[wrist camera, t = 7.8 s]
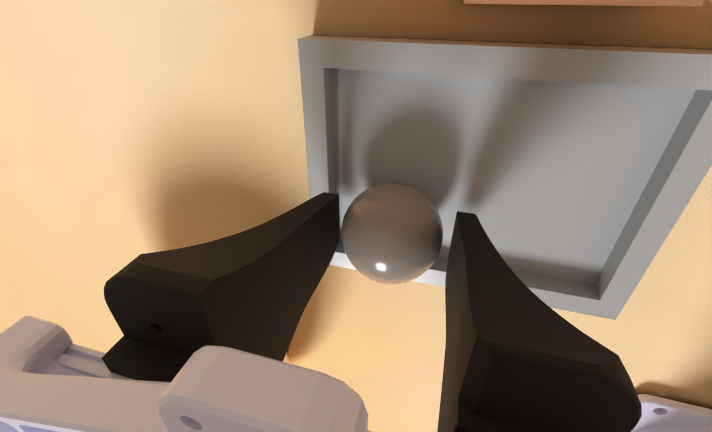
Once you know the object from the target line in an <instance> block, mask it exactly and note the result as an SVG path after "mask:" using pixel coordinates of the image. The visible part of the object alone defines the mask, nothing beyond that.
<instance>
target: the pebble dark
mask: <svg viewBox="0 0 712 432" xmlns="http://www.w3.org/2000/svg"><path fill="white" fill-rule="evenodd" d="M341 238H342V244H343V248H344V251H345V254H346V256H347V257H348V259H349V261H350V262H351V264H352V265H353V266H354V267H355V268H356V269H357V270H358V271H359V272H360V273H361V274H363V275H364V276H365V277H367V278H369V279H371V280H373V281H376V282H379V283H384V284H401V283H406V282H409V281H411V280H414V279H416V278H418V277H419V276H421V275H422V274H424V273H425V272H426V271H427V270H428V269H429V268H430V267H431V266H432V265H433V263H434V262H435V261H436V259H437V257H438V255H439V253H440V250H441V246H442V242H443V225H442V221H441V217H440V215H439V212H438V210H437V209H436V207H435V205H434V204H433V202H432V201H431V200H430V199H429V198H428V197H427V196H426V195H425V194H424V193H422V192H421V191H419V190H418V189H416V188H414V187H412V186H409V185H406V184H401V183H382V184H378V185H375V186H372V187H370V188H368V189H366V190H365V191H363V192H362V193H360V194H359V195H358V196H357V197H356V198H355V199H354V200H353V201H352V203H351V204H350V205H349V207H348V209H347V211H346V213H345V215H344V218H343V222H342V227H341Z"/></svg>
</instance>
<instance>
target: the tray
mask: <svg viewBox="0 0 712 432" xmlns="http://www.w3.org/2000/svg"><path fill="white" fill-rule="evenodd" d="M298 47H299V60H300V73H301V86H302V99H303V112H304V125H305V138H306V151H307V164H308V177H309V190H310V199H311V198H313V197H315V196H317V195H319V194H321V193H323V192H327V193H334V194H339V215H340V240H339V242H338V245H337V248H336V251H335V253H334V256H333V258H332V260H331V262H330V264H329V265H333V266H339V267H344V268H349V269H354V270H357V269H356V268H355V267H354V266H353V265H352V264H351V262H350V261H349V259H348V257H347V256H346V254H345V251H344V248H343V244H342V238H341V227H342V222H343V218H344V215H345V213H346V211H347V209H348V207H349V205H350V204H351V203H352V201H353V200H354V199H355V198H356V197H357V196H358V195H359V194H360V193H362V192H363V191H365V190H366V189H368V188H370V187H372V186H375V185H378V184H382V183H401V184H406V185H409V186H412V187H414V188H416V189H418V190H419V191H421V192H422V193H424V194H425V195H426V196H427V197H428V198H429V199H430V200H431V201H432V202H433V204H434V205H435V207H436V209H437V210H438V212H439V215H440V217H441V221H442V225H443V242H442V246H441V250H440V253H439V255H438V257H437V259H436V261H435V262H434V263H433V265H432V266H431V267H430V268H429V269H428V270H427V271H426V272H425V273H424V274H422V275H421V276H419V277H418V278H416V279H414V280H411V281H416V282H421V283H427V284H432V285H437V286H442V287H445V279H446V270H447V261H448V254H449V249H450V244H451V239H452V234H453V229H454V224H455V219H456V214H457V211H459V212H466V213H473V214H476V216H477V217H478V219H479V221H480V223H481V225H482V227H483V228H484V230H485V232H486V234H487V236H488V237H489V239H490V240H491V242H492V244H493V245H494V247H495V248H496V250H497V251H498V253H499V254H500V255H501V257H502V258H503V260H504V261H505V262H506V264H507V265H508V266H509V267H510V269H511V270H512V271H513V272H514V273H515V274H516V276H517V277H518V278H519V279H520V280H521V281H522V282H523V283H524V284H525V285H526V286H527V287H528V288H529V289H530V290H531V291H532V292H533V293H534V294H535V295H536V296H537V297H539V298H540V299H541V300H542V301H543V302H544V303H545V304H546V305H548V306H549V307H551V308H556V309H561V310H567V311H572V312H577V313H582V314H587V315H593V316H598V317H603V318H608V319H613V320H616V318H617V317H618V315H619V313H620V312H621V310H622V308H623V307H624V305H625V304H626V302H627V300H628V299H629V297H630V296H631V294H632V292H633V291H634V289H635V288H636V286H637V284H638V283H639V281H640V279H641V278H642V276H643V275H644V273H645V271H646V270H647V268H648V267H649V265H650V263H651V262H652V260H653V259H654V257H655V255H656V254H657V252H658V251H659V249H660V247H661V246H662V244H663V242H664V241H665V239H666V238H667V236H668V234H669V233H670V231H671V230H672V228H673V226H674V225H675V223H676V222H677V220H678V218H679V217H680V215H681V213H682V212H683V210H684V209H685V207H686V205H687V204H688V202H689V201H690V199H691V197H692V196H693V194H694V193H695V191H696V189H697V188H698V186H699V184H700V183H701V181H702V180H703V178H704V176H705V175H706V173H707V172H708V170H709V168H710V167H711V165H712V49H689V48H660V47H632V46H604V45H576V44H548V43H519V42H491V41H463V40H435V39H407V38H379V37H350V36H322V35H311V36H307V37H303V38H299V39H298Z"/></svg>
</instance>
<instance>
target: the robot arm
mask: <svg viewBox="0 0 712 432" xmlns="http://www.w3.org/2000/svg"><path fill="white" fill-rule="evenodd" d="M339 240H340V215H339V194H334V193H327V192H323V193H321V194H319V195H317V196H315V197H313V198H311V199H310V200H308V201H306V202H304V203H302V204H301V205H299V206H297V207H295V208H293V209H292V210H290V211H288V212H286V213H284V214H282V215H280V216H278V217H276V218H274V219H272V220H270V221H268V222H266V223H264V224H261V225H259V226H257V227H254V228H252V229H249V230H246V231H244V232H241V233H238V234H235V235H232V236H229V237H225V238H222V239H219V240H215V241H212V242H208V243H204V244H200V245H195V246H190V247H185V248H180V249H175V250H168V251H161V252H154V253H147V254H141V255H139V256H138V257H137V258H135V259H134V260H133V261H132V262H130V263H129V264H128V265H127V266H125V267H124V268H123V269H122V270H120V271H119V272H118V273H117V274H115V275H114V276H113V277H112V278H110V279H109V280H108V281H107V282H106V284H105V287H104V296H105V300H106V303H107V305H108V307H109V309H110V311H111V313H112V314H113V316H114V318H115V320H116V322H117V323H118V325H119V327H120V329H121V331H122V332H123V334H124V336H123V337H122V338H121V339H120V340H119V341H118V342H117V343H116V344H115V345H114V346H113V347H112V348H111V349H110V350H109V351H108V352H107V353H103V352H99V351H96V350H93V349H89V348H86V347H83V346H79V345H76V344H73V343H72V340H71V338H70V336H69V335H68V333H67V332H66V331H65V330H64V329H63V328H62V327H60V326H59V325H57V324H55V323H52V322H49V321H45V320H42V319H39V318H35V317H32V316H25V317H23V318H22V319H20V320H19V321H18V322H16V323H15V324H13V325H12V326H11V327H9V328H8V329H7V330H5V331H4V332H2V333H1V334H0V432H371V431H369V430H368V429H367V427H368V413H367V411H366V408H365V406H364V403H363V400H362V399H361V397H360V395H359V394H357V393H356V392H355V391H354V390H353V389H352V388H350V387H349V386H348V385H347V384H346V383H345V382H343V381H341V380H339V379H336V378H334V377H332V376H329V375H327V374H325V373H322V372H319V371H315V370H311V369H307V368H304V367H300V366H296V365H293V364H289V363H285V362H283V360H284V357H285V355H286V352H287V350H288V347H289V345H290V342H291V340H292V337H293V335H294V332H295V330H296V328H297V325H298V323H299V320H300V318H301V316H302V313H303V311H304V309H305V307H306V305H307V303H308V301H309V300H310V298H311V296H312V294H313V293H314V291H315V289H316V287H317V285H318V284H319V282H320V280H321V278H322V277H323V275H324V273H325V271H326V269H327V268H328V266H329V264H330V262H331V260H332V258H333V256H334V253H335V251H336V248H337V245H338V242H339ZM445 291H446V349H445V360H444V371H443V382H442V392H441V402H440V412H439V422H438V431H437V432H712V409H708V408H704V407H700V406H695V405H691V404H687V403H682V402H678V401H674V400H669V399H665V398H661V397H656V396H652V395H647V394H639V395H637V393H636V391H635V388H634V386H633V383H632V381H631V379H630V377H629V375H628V373H627V371H626V369H625V367H624V365H623V364H622V362H621V360H620V358H619V356H618V355H617V354H615V353H614V352H612V351H610V350H609V349H607V348H606V347H604V346H603V345H601V344H600V343H598V342H597V341H595V340H593V339H592V338H590V337H589V336H587V335H586V334H584V333H583V332H581V331H580V330H578V329H577V328H576V327H574V326H573V325H572V324H570V323H569V322H568V321H566V320H565V319H564V318H562V317H561V316H560V315H558V314H557V313H556V312H555V311H554V310H552V309H551V308H550V307H549V306H548V305H546V304H545V303H544V302H543V301H542V300H541V299H540V298H539V297H537V296H536V295H535V294H534V293H533V292H532V291H531V290H530V289H529V288H528V287H527V286H526V285H525V284H524V283H523V282H522V281H521V280H520V279H519V278H518V277H517V276H516V274H515V273H514V272H513V271H512V270H511V269H510V267H509V266H508V265H507V264H506V262H505V261H504V260H503V258H502V257H501V255H500V254H499V253H498V251H497V250H496V248H495V247H494V245H493V244H492V242H491V240H490V239H489V237H488V236H487V234H486V232H485V230H484V228H483V227H482V225H481V223H480V221H479V219H478V217H477V216H476V214H473V213H466V212H459V211H457V214H456V219H455V224H454V229H453V234H452V239H451V244H450V249H449V254H448V261H447V270H446V279H445Z"/></svg>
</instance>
